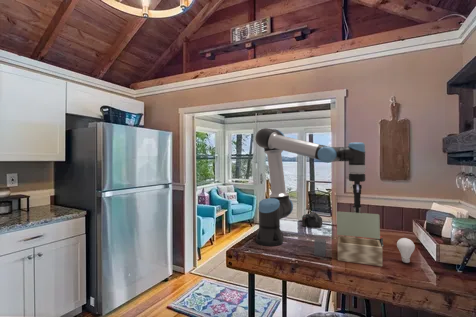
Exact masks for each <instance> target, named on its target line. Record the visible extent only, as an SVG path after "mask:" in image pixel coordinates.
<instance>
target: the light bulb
mask: <svg viewBox="0 0 476 317" xmlns="http://www.w3.org/2000/svg"><path fill="white" fill-rule="evenodd" d="M415 245H416V244H414V242H413V240H411V239H409V238H407V237H402V238H399V239H398V240H397V242H396V247H397V249H398V250H399V253H400V256H401V261H402V262H403V263H404V264H409V263H410V262H411V260H410V259H411V256H412V254H413V253H414V251H415V247H416V246H415Z"/></svg>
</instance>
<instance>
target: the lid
mask: <svg viewBox="0 0 476 317" xmlns="http://www.w3.org/2000/svg"><path fill="white" fill-rule="evenodd" d="M380 222H381V221H380V214H378V213H367V212H366V213H365V212H362V213H361V212H360V213H354V211H353V212H350V211H338V210H337V211H336V235H337V236H345V237H364V238H374V239H380V236H381V227H380V226H381V224H380Z"/></svg>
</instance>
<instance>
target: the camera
mask: <svg viewBox="0 0 476 317" xmlns="http://www.w3.org/2000/svg"><path fill="white" fill-rule="evenodd" d="M301 218H302V219H301V226H302V227H303V228H305V227H307V228H308V227H309V228H310V227H311V228H316V229H317V228H318V229H320V228H321V227H322V226H323V218H322V217H321V216H320V215H319V214H318V213H317V212H316V211H312V212H310V213H305V214H303V215H302V217H301Z"/></svg>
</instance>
